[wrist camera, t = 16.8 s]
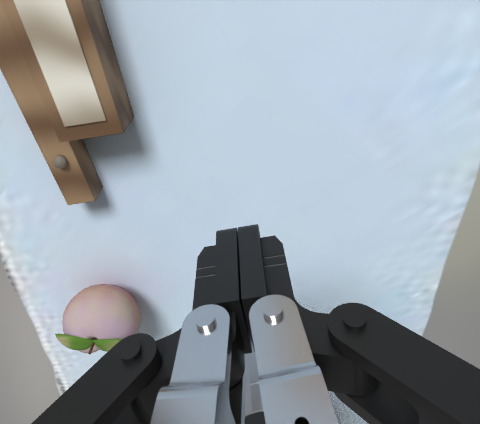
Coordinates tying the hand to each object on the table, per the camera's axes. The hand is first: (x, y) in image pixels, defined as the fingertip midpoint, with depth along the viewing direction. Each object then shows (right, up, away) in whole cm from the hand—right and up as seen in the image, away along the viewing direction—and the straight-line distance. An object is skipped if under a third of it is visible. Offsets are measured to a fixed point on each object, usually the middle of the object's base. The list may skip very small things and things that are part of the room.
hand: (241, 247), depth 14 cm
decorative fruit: (-17, -9, +37) cm, 42 cm away
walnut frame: (-15, +17, +21) cm, 31 cm away
